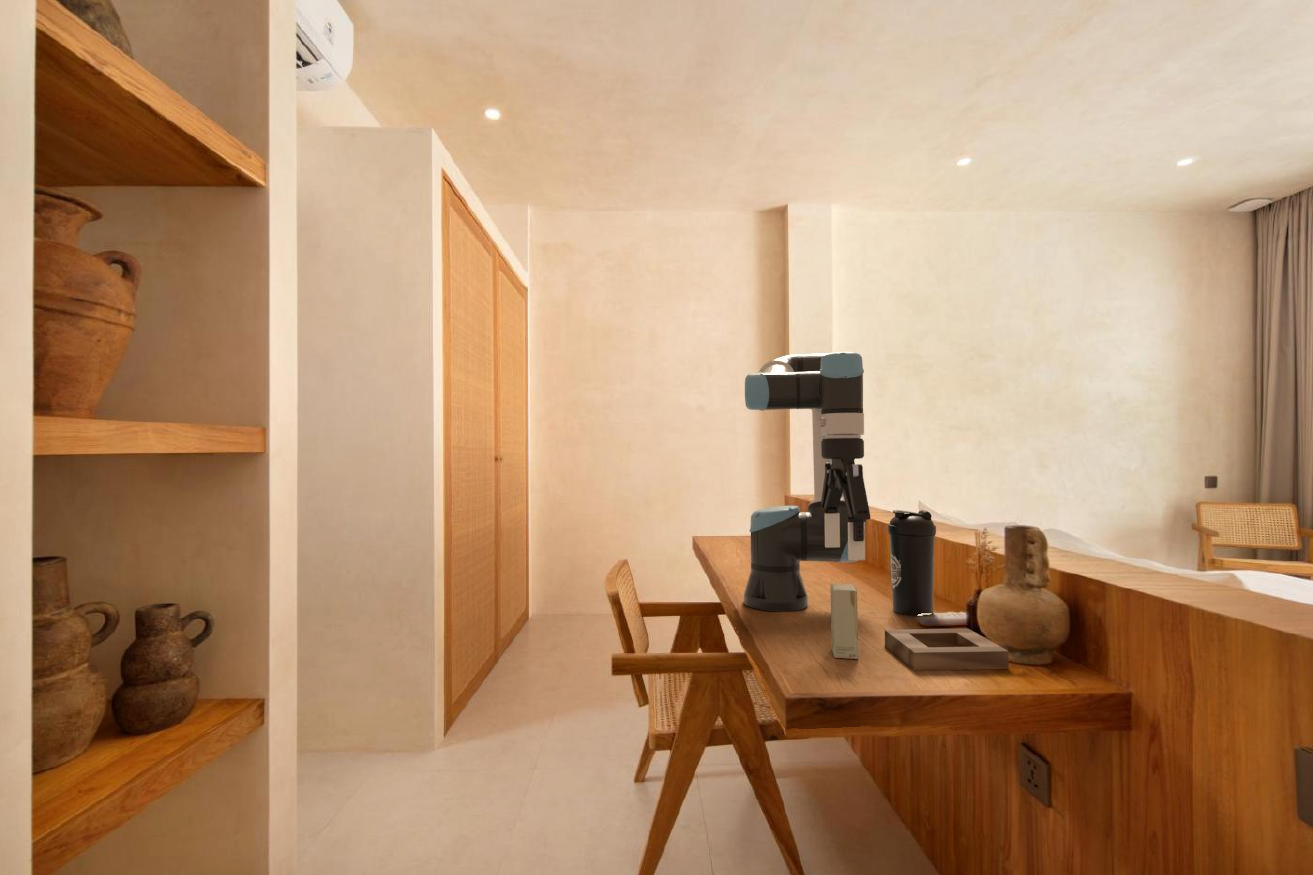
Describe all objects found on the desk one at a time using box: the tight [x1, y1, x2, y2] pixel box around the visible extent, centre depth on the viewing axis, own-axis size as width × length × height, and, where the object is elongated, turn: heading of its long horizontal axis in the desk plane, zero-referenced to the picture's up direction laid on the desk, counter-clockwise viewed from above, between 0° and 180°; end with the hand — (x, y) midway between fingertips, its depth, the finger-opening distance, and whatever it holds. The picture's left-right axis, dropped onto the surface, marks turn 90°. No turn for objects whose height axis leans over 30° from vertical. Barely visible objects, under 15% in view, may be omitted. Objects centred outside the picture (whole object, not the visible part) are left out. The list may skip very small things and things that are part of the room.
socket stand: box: [884, 628, 1010, 671], centre depth 111 cm, size 13×16×3 cm
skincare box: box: [829, 582, 859, 660], centre depth 113 cm, size 6×4×12 cm
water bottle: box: [887, 509, 937, 617], centre depth 141 cm, size 10×10×23 cm
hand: (843, 553), depth 113 cm, fingers open, 13 cm apart
